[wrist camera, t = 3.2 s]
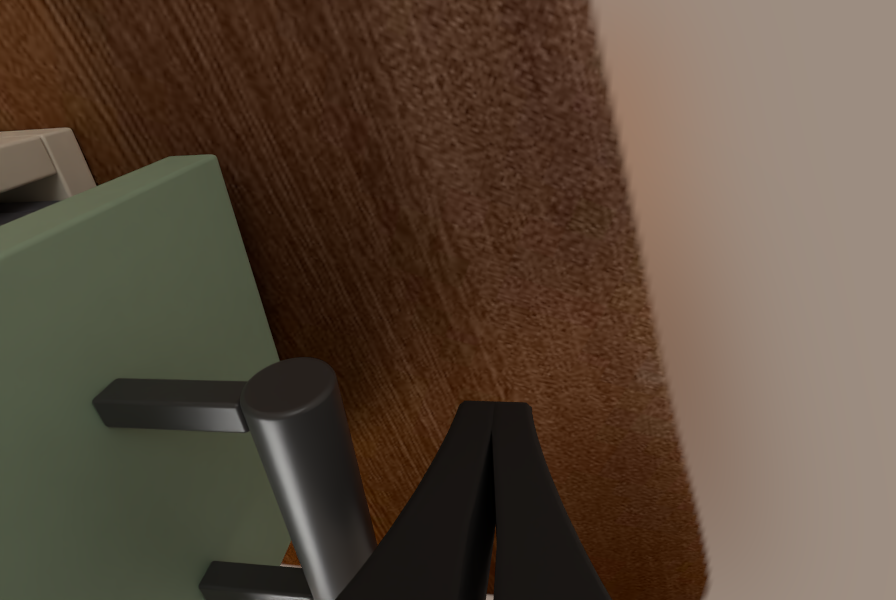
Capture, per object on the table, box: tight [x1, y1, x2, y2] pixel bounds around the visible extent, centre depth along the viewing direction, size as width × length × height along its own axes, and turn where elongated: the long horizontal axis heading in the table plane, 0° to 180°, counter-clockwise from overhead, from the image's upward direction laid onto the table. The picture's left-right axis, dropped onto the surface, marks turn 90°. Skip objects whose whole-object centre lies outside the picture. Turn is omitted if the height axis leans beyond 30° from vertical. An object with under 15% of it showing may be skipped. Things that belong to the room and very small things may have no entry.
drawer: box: [0, 154, 377, 600], centre depth 11 cm, size 16×11×8 cm, turn 94°
